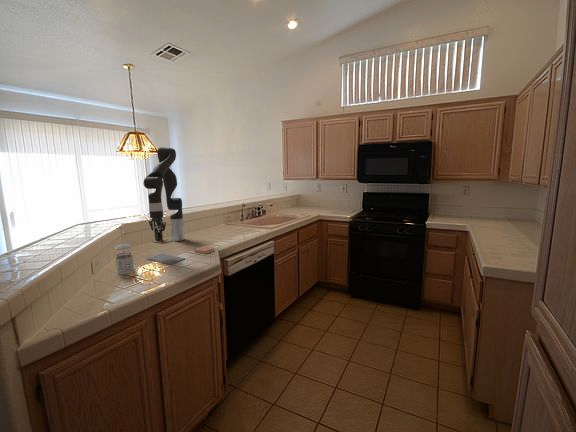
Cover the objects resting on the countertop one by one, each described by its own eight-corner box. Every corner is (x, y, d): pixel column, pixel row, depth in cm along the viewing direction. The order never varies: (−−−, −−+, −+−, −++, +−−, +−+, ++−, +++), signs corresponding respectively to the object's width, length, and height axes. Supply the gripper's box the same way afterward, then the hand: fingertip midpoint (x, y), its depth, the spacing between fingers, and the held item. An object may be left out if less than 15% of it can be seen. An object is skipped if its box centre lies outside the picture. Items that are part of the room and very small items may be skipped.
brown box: (152, 242, 171) (151, 231, 170) (162, 239, 177) (161, 229, 176) (163, 244, 166) (162, 233, 165) (173, 241, 172) (172, 230, 171)
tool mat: (146, 259, 173) (146, 258, 173) (162, 254, 183) (162, 253, 183) (169, 264, 162) (169, 263, 162) (185, 259, 172) (185, 258, 172)
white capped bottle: (131, 266, 160) (126, 224, 156) (140, 271, 153) (135, 226, 149) (112, 271, 152) (106, 227, 148) (120, 276, 145) (115, 229, 141)
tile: (194, 249, 186) (205, 251, 182) (203, 246, 193) (214, 248, 189) (194, 252, 187) (205, 254, 182) (203, 249, 194) (214, 251, 189)
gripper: (168, 209, 170) (171, 237, 173) (154, 208, 177) (156, 235, 180) (157, 211, 163) (160, 240, 166) (143, 210, 170) (146, 237, 173)
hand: (158, 237), depth 173 cm, fingers closed on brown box, 3 cm apart
